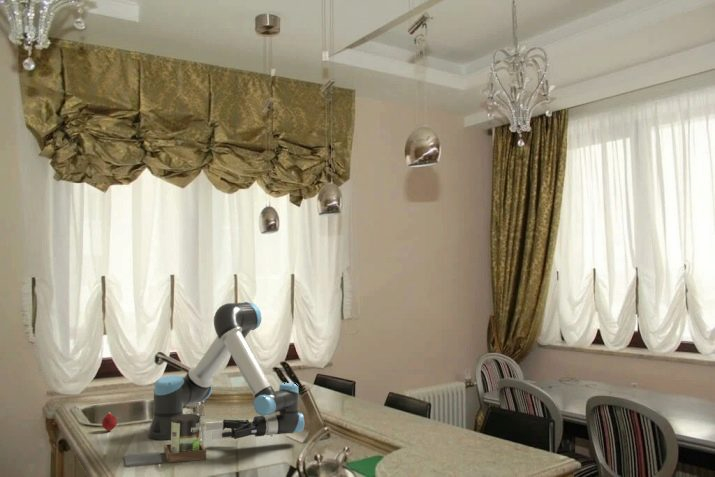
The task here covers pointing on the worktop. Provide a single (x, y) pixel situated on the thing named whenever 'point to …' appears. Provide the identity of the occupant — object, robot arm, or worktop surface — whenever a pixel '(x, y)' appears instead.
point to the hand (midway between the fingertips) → (209, 430)
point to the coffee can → (185, 433)
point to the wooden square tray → (184, 454)
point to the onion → (109, 422)
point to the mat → (142, 459)
